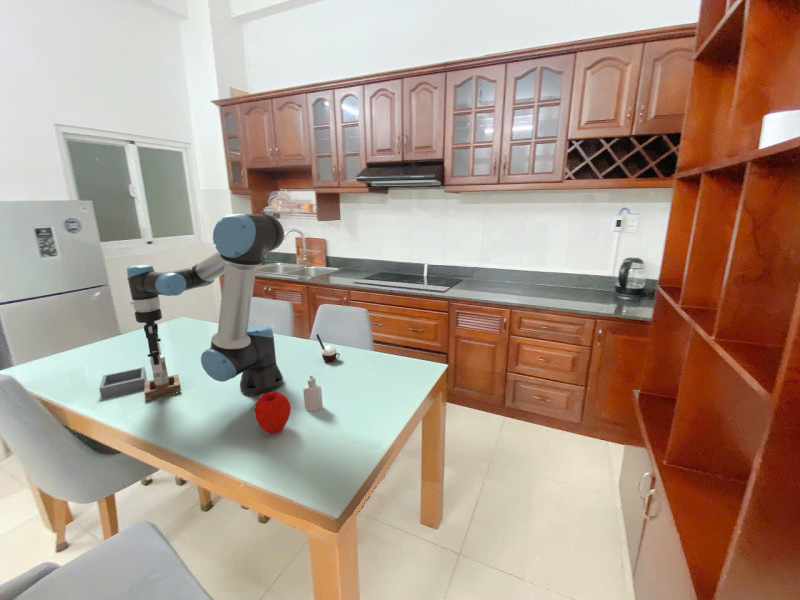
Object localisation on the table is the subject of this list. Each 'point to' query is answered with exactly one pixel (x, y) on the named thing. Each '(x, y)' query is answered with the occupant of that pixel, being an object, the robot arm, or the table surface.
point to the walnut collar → (162, 388)
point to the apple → (272, 412)
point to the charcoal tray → (122, 382)
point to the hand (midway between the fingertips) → (158, 365)
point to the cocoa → (328, 352)
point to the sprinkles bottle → (161, 375)
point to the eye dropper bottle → (312, 395)
